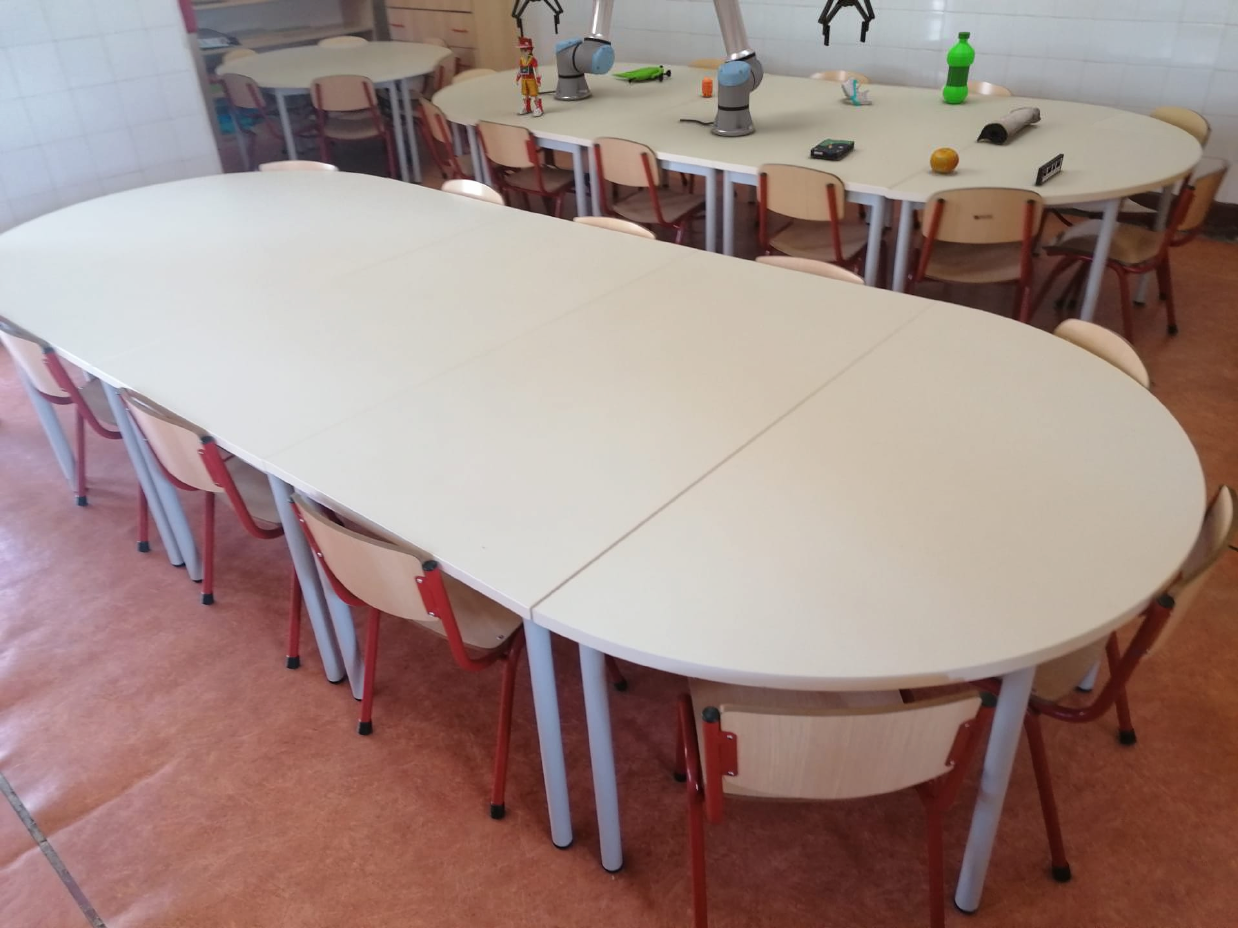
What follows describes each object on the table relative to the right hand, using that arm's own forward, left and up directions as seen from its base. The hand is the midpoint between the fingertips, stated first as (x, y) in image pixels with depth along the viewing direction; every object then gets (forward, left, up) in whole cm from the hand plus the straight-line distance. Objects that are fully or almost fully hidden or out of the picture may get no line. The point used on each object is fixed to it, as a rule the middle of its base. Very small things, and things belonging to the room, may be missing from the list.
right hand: (844, 44), depth 317 cm
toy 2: (-116, +52, -29) cm, 130 cm away
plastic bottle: (+30, +50, -29) cm, 65 cm away
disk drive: (+9, -33, -29) cm, 44 cm away
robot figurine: (-68, +30, -29) cm, 79 cm away
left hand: (-116, -23, +2) cm, 118 cm away
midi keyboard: (+79, -34, -29) cm, 91 cm away
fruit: (+48, -39, -29) cm, 69 cm away
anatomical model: (-7, +39, -29) cm, 49 cm away
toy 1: (-126, -21, -29) cm, 130 cm away
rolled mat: (+58, +11, -29) cm, 66 cm away
